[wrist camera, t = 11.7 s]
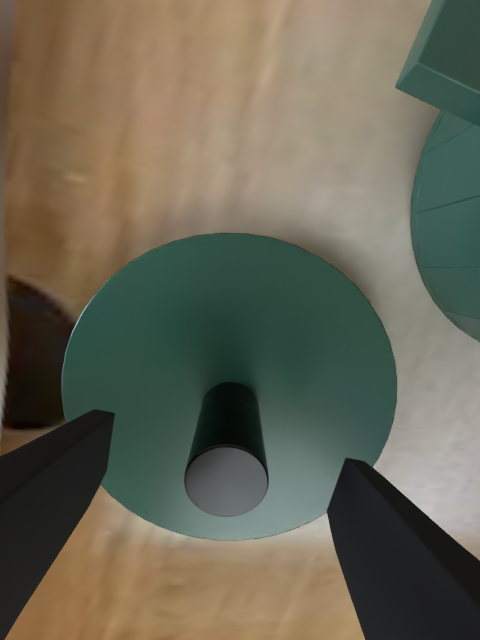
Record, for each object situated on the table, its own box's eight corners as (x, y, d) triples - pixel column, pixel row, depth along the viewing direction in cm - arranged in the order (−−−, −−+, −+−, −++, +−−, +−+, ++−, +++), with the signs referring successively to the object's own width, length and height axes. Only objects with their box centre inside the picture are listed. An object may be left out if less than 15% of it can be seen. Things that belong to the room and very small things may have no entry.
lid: (308, 550, 15) (345, 702, 10) (46, 472, 13) (-68, 597, 8) (440, 306, 12) (591, 340, 7) (123, 180, 11) (21, 107, 6)
